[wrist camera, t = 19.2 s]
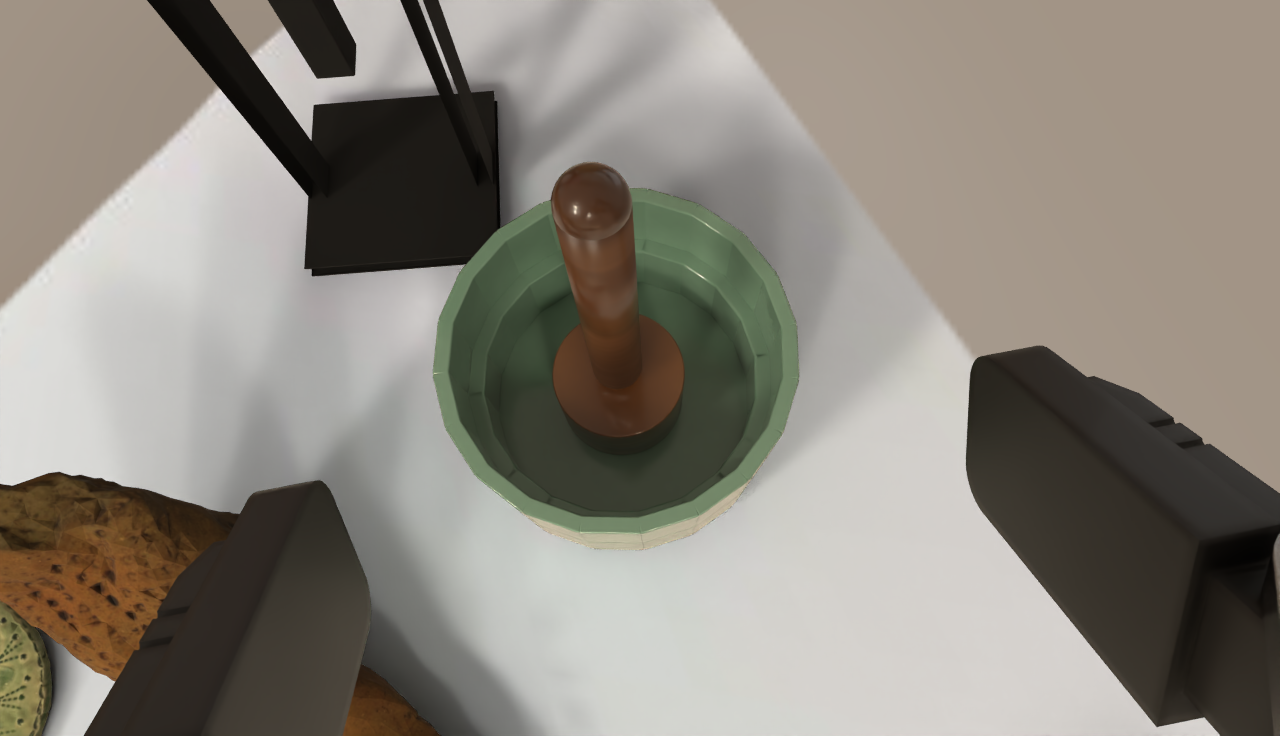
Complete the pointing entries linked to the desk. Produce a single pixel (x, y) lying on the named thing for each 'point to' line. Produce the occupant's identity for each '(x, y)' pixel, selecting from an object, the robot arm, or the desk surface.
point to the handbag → (365, 142)
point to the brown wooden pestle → (610, 322)
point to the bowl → (533, 419)
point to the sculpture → (129, 577)
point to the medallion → (22, 676)
